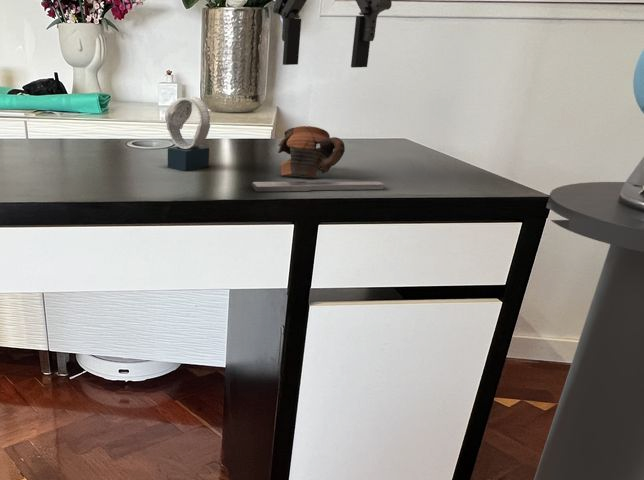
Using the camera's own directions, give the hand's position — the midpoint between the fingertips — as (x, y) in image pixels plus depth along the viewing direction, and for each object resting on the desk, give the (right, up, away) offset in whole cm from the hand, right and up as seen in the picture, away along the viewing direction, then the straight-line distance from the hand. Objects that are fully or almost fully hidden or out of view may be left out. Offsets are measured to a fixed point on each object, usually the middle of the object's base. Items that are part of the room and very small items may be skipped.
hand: (322, 66), depth 96 cm
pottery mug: (-1, -15, +7) cm, 16 cm away
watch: (-20, -12, +12) cm, 26 cm away
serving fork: (-1, -19, -3) cm, 20 cm away
